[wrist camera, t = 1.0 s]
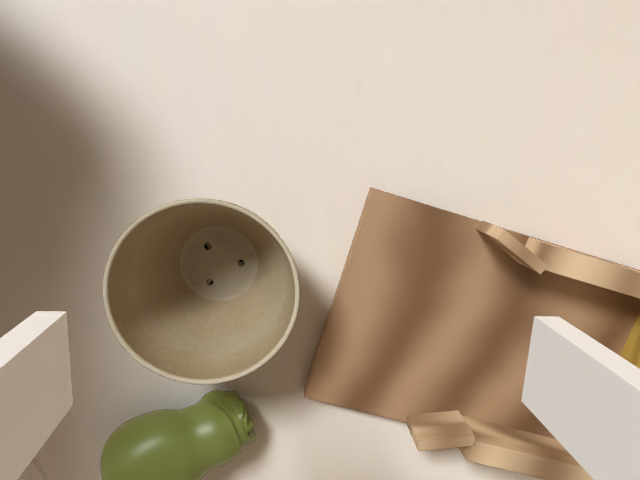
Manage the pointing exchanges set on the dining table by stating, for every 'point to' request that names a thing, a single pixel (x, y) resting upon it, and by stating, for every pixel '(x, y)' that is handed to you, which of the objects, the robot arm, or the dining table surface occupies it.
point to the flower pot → (201, 291)
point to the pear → (179, 440)
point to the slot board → (462, 329)
